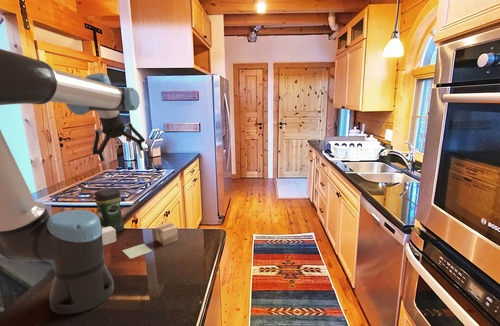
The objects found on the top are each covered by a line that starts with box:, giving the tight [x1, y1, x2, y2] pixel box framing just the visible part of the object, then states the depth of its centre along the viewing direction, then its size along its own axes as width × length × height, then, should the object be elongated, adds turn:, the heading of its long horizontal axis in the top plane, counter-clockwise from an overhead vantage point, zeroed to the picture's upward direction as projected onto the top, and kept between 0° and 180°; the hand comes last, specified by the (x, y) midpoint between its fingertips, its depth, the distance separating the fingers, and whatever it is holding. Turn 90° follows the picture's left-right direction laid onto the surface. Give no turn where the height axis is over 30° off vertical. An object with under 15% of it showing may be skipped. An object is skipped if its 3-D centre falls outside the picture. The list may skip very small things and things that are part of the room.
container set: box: [102, 226, 117, 246], centre depth 103 cm, size 20×5×6 cm, turn 137°
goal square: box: [121, 243, 153, 260], centre depth 102 cm, size 8×8×1 cm
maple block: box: [155, 222, 179, 247], centre depth 109 cm, size 6×6×6 cm
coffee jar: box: [94, 187, 125, 233], centre depth 117 cm, size 10×8×19 cm
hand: (124, 161), depth 119 cm, fingers open, 13 cm apart
